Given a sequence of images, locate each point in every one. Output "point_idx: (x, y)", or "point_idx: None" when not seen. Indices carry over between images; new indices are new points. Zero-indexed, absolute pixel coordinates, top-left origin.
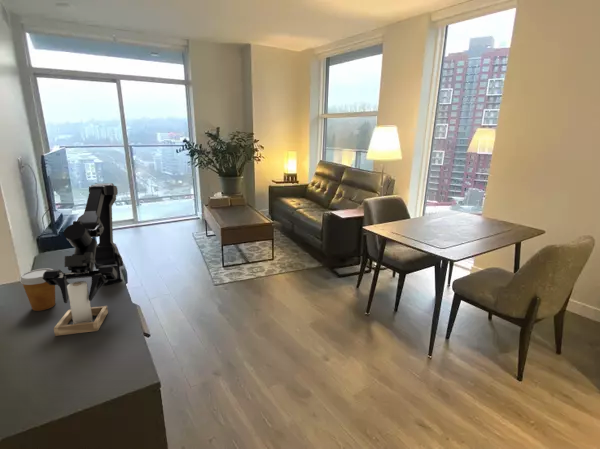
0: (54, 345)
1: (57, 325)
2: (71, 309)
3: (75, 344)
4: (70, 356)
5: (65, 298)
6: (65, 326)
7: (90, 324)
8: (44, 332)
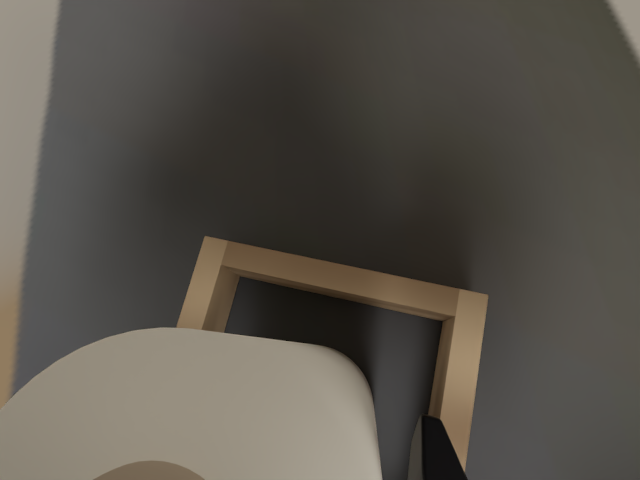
0: (447, 183)
1: (469, 330)
2: (365, 391)
3: (337, 147)
4: (348, 48)
5: (427, 457)
6: (406, 282)
7: (245, 245)
8: (560, 396)
